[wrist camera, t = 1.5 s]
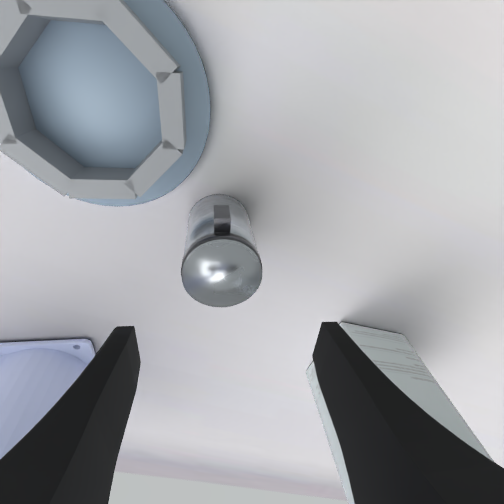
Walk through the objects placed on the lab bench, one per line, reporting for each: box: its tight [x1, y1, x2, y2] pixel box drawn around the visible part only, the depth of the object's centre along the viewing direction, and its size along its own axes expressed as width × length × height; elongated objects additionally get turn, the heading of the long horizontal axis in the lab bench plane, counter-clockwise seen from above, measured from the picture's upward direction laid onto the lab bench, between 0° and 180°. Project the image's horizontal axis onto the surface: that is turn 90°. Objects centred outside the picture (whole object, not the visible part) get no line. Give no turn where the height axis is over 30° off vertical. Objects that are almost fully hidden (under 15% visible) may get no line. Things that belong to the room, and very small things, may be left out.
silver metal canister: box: [181, 195, 262, 307], centre depth 18 cm, size 4×5×6 cm
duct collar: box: [0, 0, 211, 206], centre depth 15 cm, size 11×11×3 cm
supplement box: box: [306, 322, 494, 504], centre depth 24 cm, size 7×7×13 cm
